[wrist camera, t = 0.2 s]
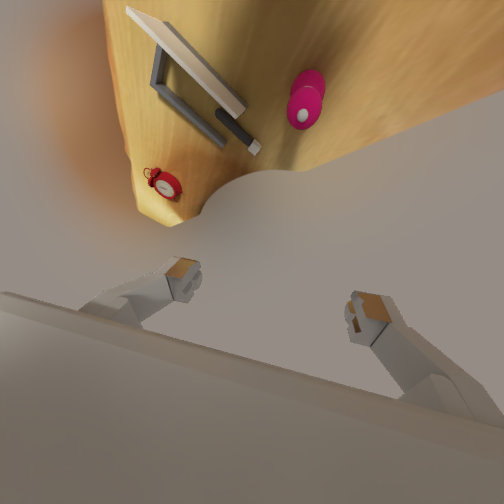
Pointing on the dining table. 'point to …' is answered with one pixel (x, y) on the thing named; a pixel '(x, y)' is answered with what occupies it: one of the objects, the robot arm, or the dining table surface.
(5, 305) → the robot arm
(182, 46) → the cover
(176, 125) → the dining table surface
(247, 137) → the white-capped dark rod
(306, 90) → the pepper mill
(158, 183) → the alarm clock
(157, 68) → the grey flat frame
